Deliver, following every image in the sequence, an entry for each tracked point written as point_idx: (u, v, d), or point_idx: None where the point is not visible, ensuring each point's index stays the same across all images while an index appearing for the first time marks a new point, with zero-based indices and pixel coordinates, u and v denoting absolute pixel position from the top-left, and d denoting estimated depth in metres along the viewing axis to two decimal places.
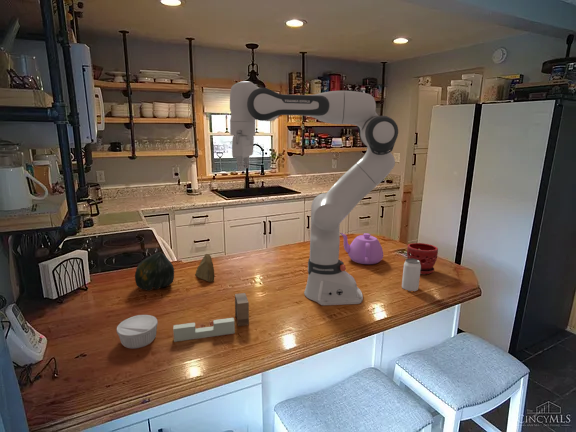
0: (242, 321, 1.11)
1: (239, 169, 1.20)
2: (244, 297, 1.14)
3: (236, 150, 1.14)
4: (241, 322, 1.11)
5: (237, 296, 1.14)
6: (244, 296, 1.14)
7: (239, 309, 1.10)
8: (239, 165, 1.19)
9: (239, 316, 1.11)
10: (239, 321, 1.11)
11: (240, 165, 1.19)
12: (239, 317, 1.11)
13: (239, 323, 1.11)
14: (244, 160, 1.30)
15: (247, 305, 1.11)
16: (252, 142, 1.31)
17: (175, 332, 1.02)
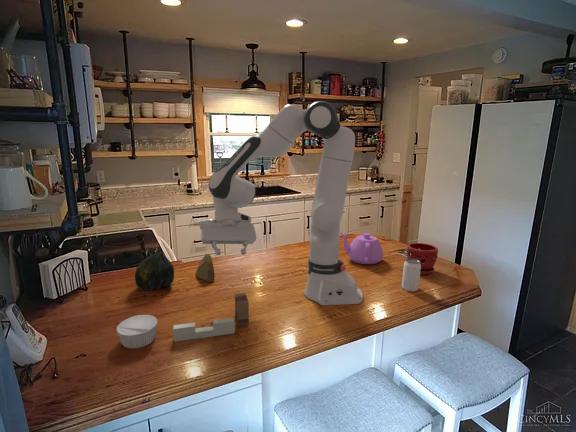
0: (242, 321, 1.11)
1: (215, 253, 1.21)
2: (244, 297, 1.14)
3: (201, 235, 1.22)
4: (241, 322, 1.11)
5: (237, 296, 1.14)
6: (244, 296, 1.14)
7: (239, 309, 1.10)
8: (214, 249, 1.22)
9: (239, 316, 1.11)
10: (239, 321, 1.11)
11: (215, 249, 1.22)
12: (239, 317, 1.11)
13: (239, 323, 1.11)
14: (244, 247, 1.27)
15: (247, 305, 1.11)
16: (250, 228, 1.29)
17: (175, 332, 1.02)
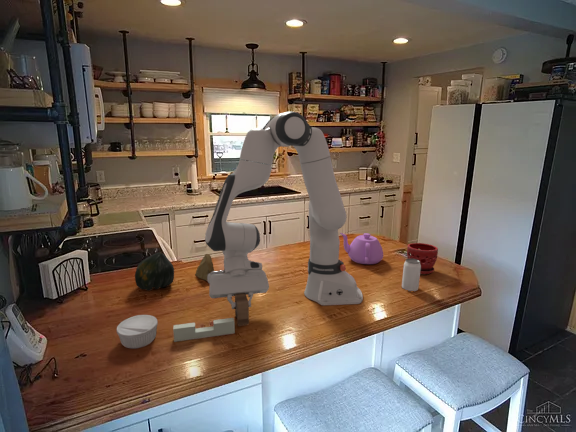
0: (242, 321, 1.11)
1: None
2: (244, 296, 1.14)
3: None
4: (241, 322, 1.11)
5: (237, 296, 1.14)
6: (244, 296, 1.14)
7: (239, 309, 1.10)
8: (230, 303, 1.15)
9: (239, 316, 1.11)
10: (239, 321, 1.11)
11: (230, 302, 1.14)
12: (239, 317, 1.11)
13: (239, 323, 1.11)
14: None
15: (247, 305, 1.11)
16: (261, 276, 1.19)
17: (175, 332, 1.02)
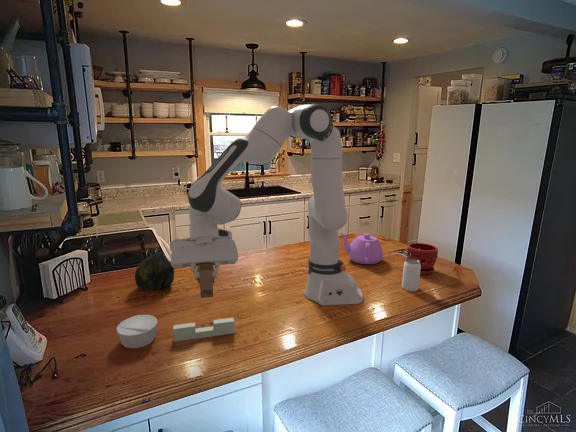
0: (205, 292, 1.00)
1: None
2: (209, 266, 1.03)
3: None
4: (204, 293, 1.00)
5: (201, 265, 1.03)
6: (209, 265, 1.03)
7: (202, 278, 0.99)
8: (194, 273, 1.03)
9: (202, 286, 0.99)
10: (202, 292, 1.00)
11: (194, 272, 1.03)
12: (202, 288, 1.00)
13: (202, 294, 1.00)
14: None
15: (211, 275, 0.99)
16: (230, 245, 1.08)
17: (175, 332, 1.02)
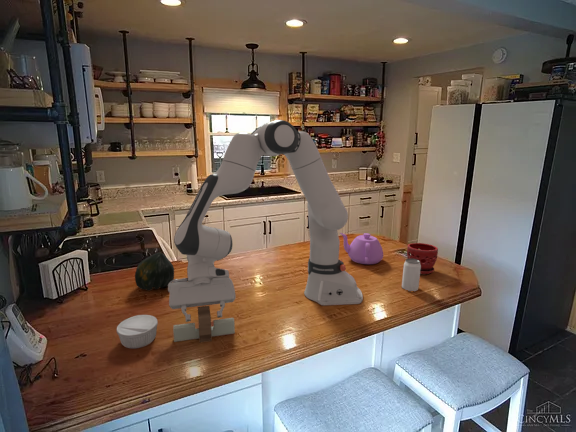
0: (204, 337, 1.02)
1: None
2: (207, 310, 1.05)
3: None
4: (203, 338, 1.02)
5: (200, 309, 1.05)
6: (207, 309, 1.05)
7: (200, 324, 1.01)
8: None
9: (200, 332, 1.02)
10: (201, 337, 1.02)
11: None
12: (200, 333, 1.02)
13: (201, 339, 1.02)
14: None
15: (209, 320, 1.02)
16: (228, 284, 1.10)
17: (175, 332, 1.02)
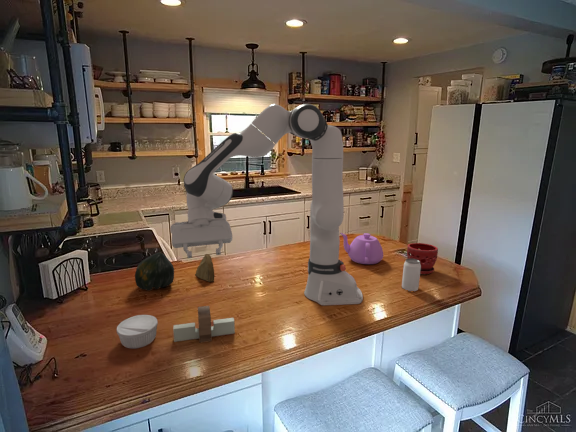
0: (204, 337, 1.02)
1: (187, 256, 1.14)
2: (207, 310, 1.05)
3: None
4: (203, 338, 1.02)
5: (200, 309, 1.05)
6: (207, 309, 1.05)
7: (200, 324, 1.01)
8: (186, 252, 1.15)
9: (200, 332, 1.02)
10: (201, 337, 1.02)
11: (186, 252, 1.14)
12: (200, 333, 1.02)
13: (201, 339, 1.02)
14: None
15: (209, 320, 1.02)
16: (225, 226, 1.20)
17: (175, 332, 1.02)
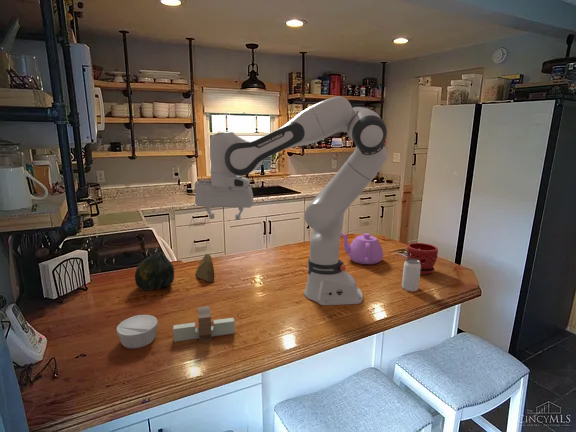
0: (204, 337, 1.02)
1: None
2: (207, 310, 1.05)
3: None
4: (203, 338, 1.02)
5: (200, 309, 1.05)
6: (207, 309, 1.05)
7: (200, 324, 1.01)
8: None
9: (200, 332, 1.02)
10: (201, 337, 1.02)
11: None
12: (200, 333, 1.02)
13: (201, 339, 1.02)
14: (240, 211, 1.21)
15: (209, 320, 1.02)
16: (245, 194, 1.17)
17: (175, 332, 1.02)
